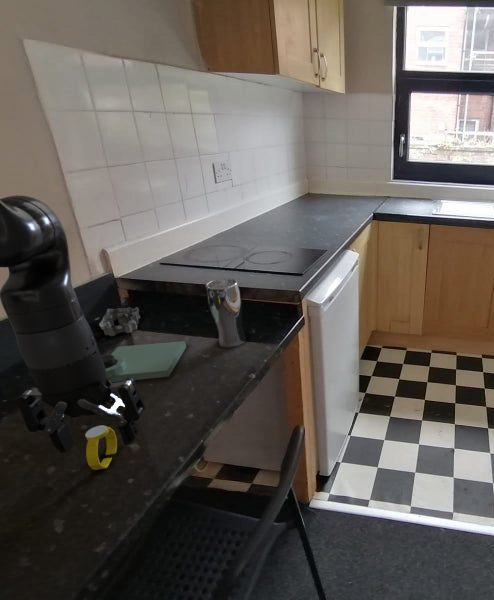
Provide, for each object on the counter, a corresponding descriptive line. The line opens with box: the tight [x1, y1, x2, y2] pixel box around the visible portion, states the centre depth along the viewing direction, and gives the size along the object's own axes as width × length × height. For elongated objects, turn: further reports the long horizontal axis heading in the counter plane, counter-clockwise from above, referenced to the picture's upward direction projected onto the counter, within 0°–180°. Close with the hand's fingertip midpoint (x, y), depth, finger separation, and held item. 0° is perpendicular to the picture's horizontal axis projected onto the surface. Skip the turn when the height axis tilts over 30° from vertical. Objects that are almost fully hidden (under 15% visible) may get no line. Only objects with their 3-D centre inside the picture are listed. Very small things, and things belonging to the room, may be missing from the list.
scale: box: [105, 341, 187, 383], centre depth 85 cm, size 14×13×4 cm
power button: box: [101, 354, 116, 369], centre depth 80 cm, size 3×3×2 cm
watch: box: [84, 424, 118, 471], centre depth 61 cm, size 6×3×6 cm, turn 12°
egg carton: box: [98, 306, 141, 337], centre depth 102 cm, size 11×8×4 cm
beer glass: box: [205, 277, 247, 348], centre depth 92 cm, size 7×7×15 cm
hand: (99, 444), depth 60 cm, fingers open, 8 cm apart
